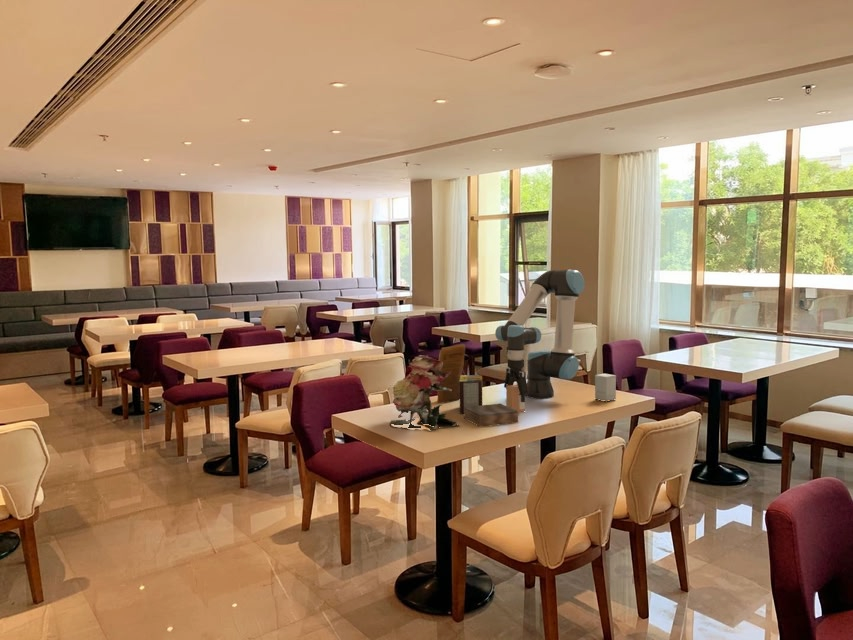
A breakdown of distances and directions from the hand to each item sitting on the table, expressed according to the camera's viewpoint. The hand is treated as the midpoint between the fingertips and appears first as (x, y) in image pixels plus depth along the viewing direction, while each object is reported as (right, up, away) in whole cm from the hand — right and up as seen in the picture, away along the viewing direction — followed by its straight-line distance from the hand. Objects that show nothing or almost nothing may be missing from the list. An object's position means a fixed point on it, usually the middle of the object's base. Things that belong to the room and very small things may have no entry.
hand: (515, 406), depth 291 cm
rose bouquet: (-44, -5, -21) cm, 49 cm away
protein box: (-20, -3, +3) cm, 21 cm away
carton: (0, -2, 0) cm, 3 cm away
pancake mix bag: (-29, -1, +25) cm, 38 cm away
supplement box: (+47, 0, +22) cm, 52 cm away
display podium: (-13, -4, -15) cm, 21 cm away
